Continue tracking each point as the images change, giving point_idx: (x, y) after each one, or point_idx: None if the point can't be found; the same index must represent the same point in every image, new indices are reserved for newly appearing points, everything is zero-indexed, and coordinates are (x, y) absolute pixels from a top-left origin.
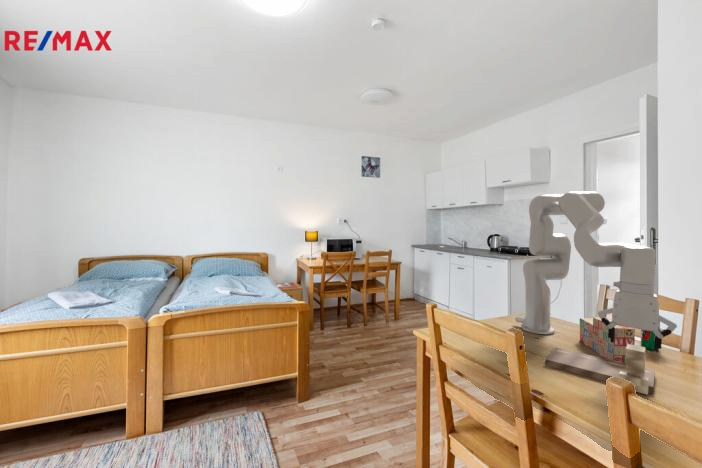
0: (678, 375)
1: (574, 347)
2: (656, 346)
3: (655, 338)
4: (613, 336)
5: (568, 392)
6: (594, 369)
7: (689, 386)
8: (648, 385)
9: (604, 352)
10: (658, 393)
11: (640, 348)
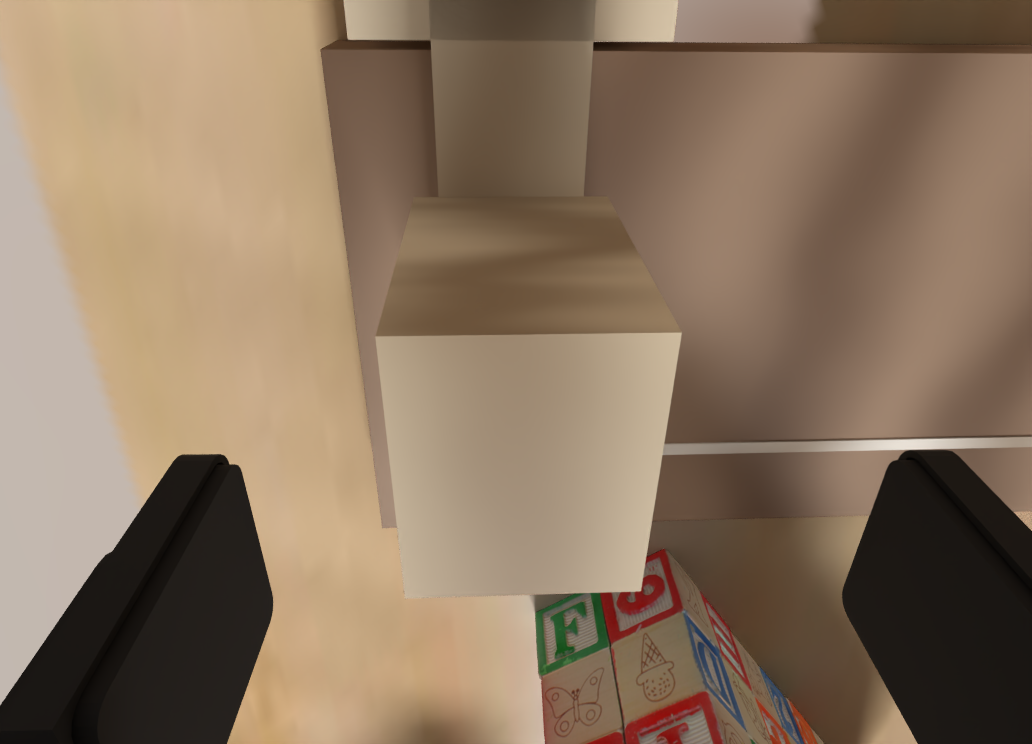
0: None
1: None
2: (150, 525)
3: (84, 722)
4: (981, 543)
5: None
6: (893, 143)
7: (169, 463)
8: (368, 57)
9: (731, 651)
10: (305, 109)
11: (460, 505)
